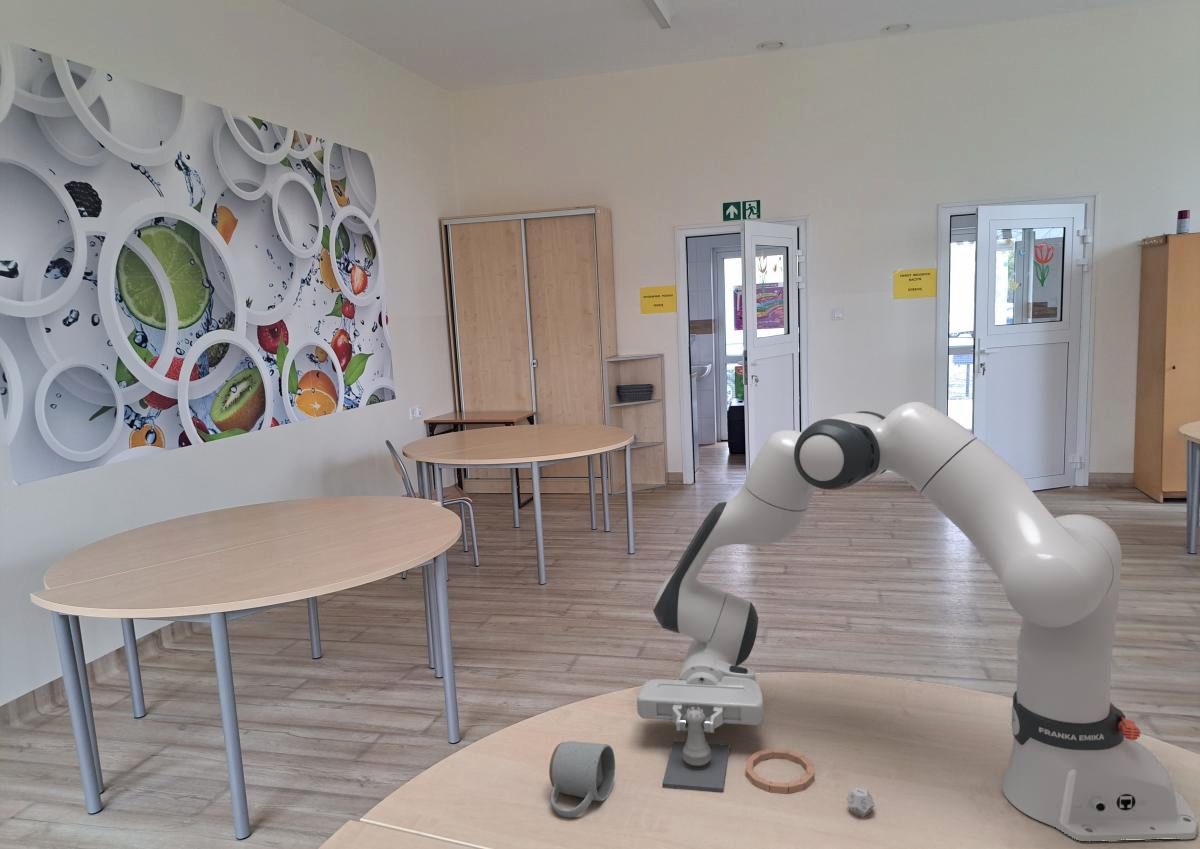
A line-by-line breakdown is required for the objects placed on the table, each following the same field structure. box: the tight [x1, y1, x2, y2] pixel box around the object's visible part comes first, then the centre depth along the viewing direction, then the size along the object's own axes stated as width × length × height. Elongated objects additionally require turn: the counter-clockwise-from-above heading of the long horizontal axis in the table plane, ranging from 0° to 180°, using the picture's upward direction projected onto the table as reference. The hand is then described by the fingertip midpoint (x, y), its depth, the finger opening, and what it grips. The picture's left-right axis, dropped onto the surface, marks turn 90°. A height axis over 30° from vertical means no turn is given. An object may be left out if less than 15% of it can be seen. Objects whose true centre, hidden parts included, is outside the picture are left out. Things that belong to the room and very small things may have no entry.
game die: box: [846, 786, 875, 818], centre depth 111 cm, size 4×4×3 cm
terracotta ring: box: [745, 748, 815, 794], centre depth 121 cm, size 10×10×1 cm
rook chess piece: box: [683, 707, 711, 766], centre depth 123 cm, size 4×4×8 cm
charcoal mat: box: [661, 740, 730, 793], centre depth 124 cm, size 9×12×1 cm
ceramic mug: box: [548, 740, 616, 819], centre depth 118 cm, size 11×8×8 cm
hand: (694, 727), depth 122 cm, fingers closed on rook chess piece, 3 cm apart
